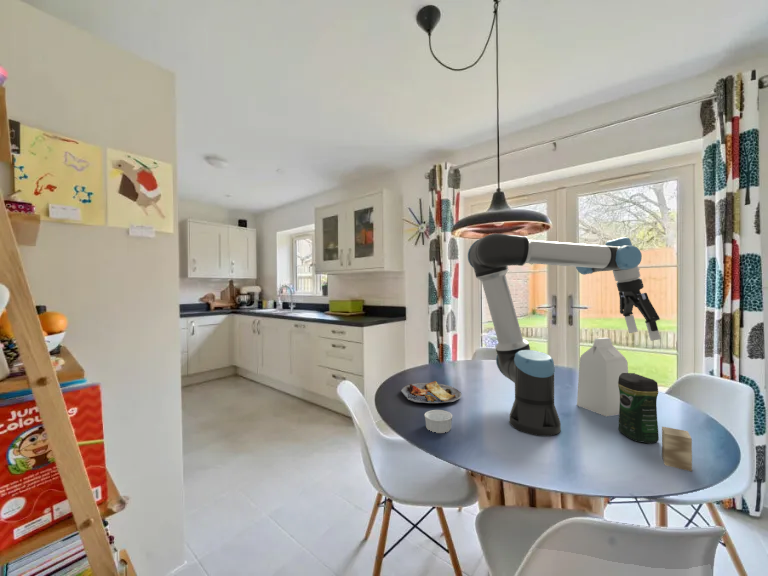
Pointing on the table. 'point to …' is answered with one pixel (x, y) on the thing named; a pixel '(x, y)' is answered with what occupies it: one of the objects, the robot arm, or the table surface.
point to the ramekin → (438, 421)
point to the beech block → (677, 448)
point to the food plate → (435, 388)
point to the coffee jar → (638, 407)
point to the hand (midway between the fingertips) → (643, 335)
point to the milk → (601, 378)
